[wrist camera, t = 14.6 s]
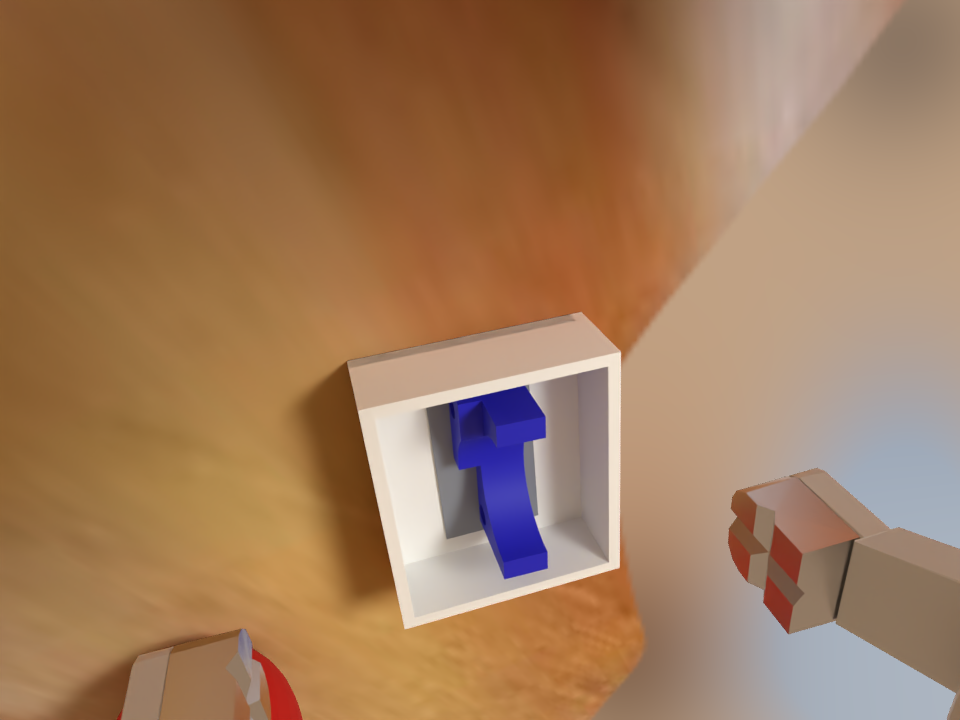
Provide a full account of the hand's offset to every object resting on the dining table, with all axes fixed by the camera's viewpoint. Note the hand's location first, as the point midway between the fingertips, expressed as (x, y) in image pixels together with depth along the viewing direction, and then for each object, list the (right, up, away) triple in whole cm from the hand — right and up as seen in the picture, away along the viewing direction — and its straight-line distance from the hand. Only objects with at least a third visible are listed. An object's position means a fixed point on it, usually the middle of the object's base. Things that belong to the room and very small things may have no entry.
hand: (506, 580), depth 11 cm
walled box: (0, -3, +37) cm, 38 cm away
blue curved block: (0, -3, +36) cm, 36 cm away
